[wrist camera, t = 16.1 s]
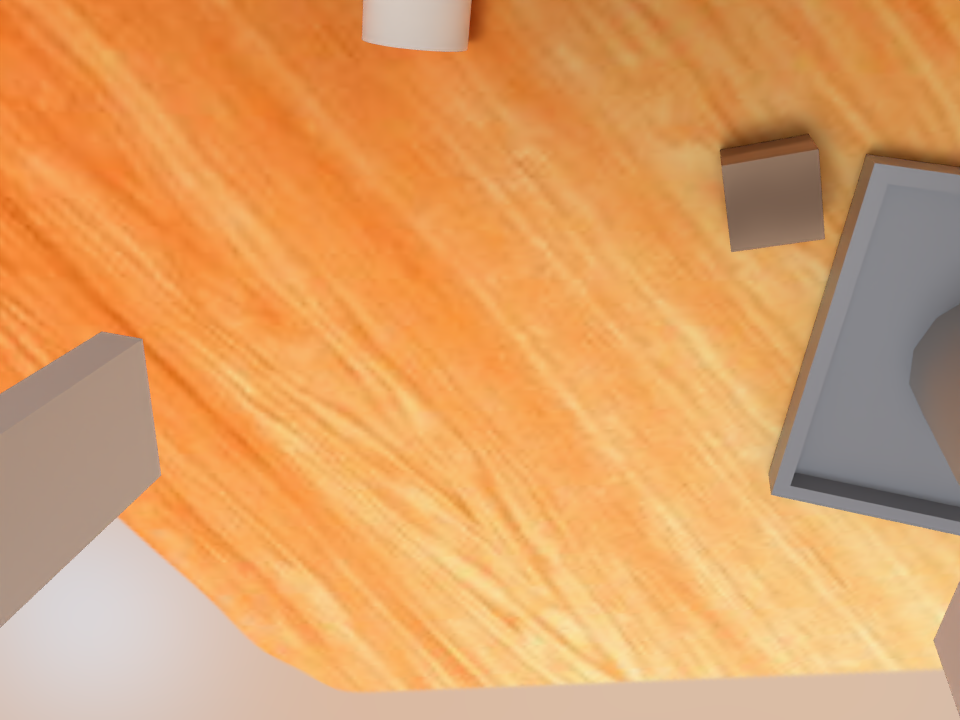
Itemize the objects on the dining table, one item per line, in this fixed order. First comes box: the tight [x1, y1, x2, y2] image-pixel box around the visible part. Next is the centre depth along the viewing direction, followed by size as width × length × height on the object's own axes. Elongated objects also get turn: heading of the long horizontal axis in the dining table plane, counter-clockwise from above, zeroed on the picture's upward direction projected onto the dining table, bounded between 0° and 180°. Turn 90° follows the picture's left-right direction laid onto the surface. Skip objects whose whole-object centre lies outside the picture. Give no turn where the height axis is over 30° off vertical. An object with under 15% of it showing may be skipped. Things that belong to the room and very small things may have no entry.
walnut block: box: [720, 134, 825, 252], centre depth 38 cm, size 4×4×4 cm
